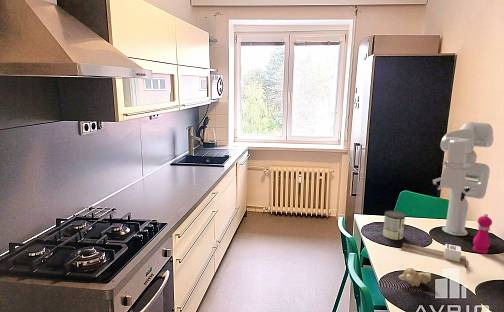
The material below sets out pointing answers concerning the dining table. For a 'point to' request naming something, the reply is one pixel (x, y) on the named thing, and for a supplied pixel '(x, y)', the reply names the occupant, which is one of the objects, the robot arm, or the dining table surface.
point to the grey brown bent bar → (430, 253)
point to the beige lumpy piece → (415, 277)
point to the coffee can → (394, 225)
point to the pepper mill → (482, 235)
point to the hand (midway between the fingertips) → (450, 198)
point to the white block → (452, 252)
